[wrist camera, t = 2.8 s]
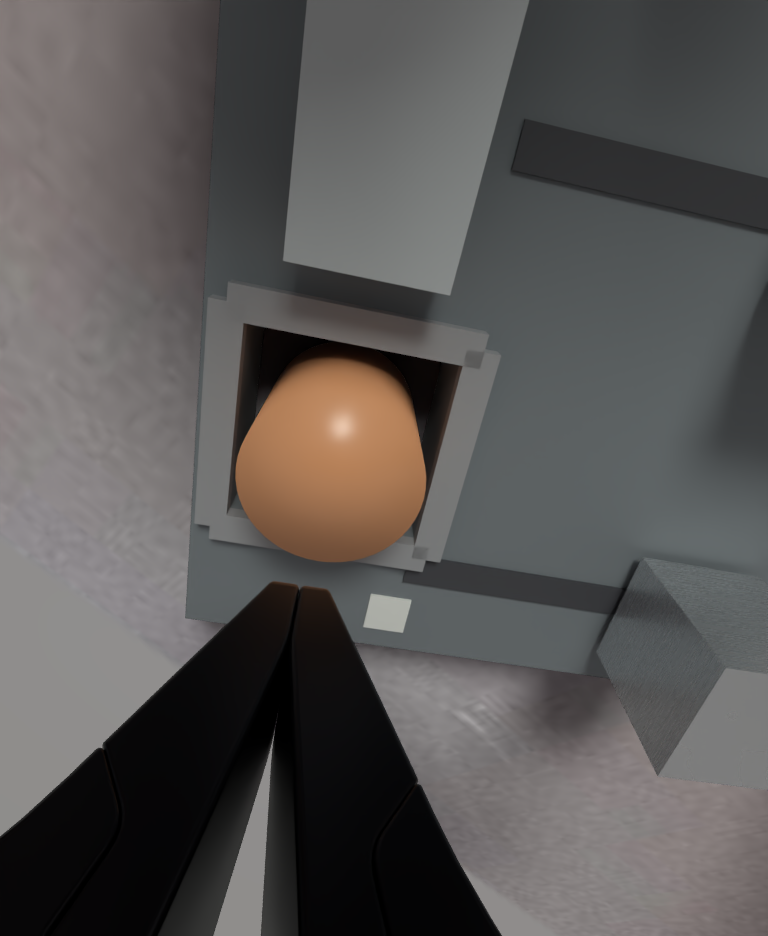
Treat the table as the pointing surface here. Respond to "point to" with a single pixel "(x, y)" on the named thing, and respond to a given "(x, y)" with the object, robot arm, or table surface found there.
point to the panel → (522, 333)
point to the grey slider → (694, 671)
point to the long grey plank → (395, 133)
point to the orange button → (334, 456)
